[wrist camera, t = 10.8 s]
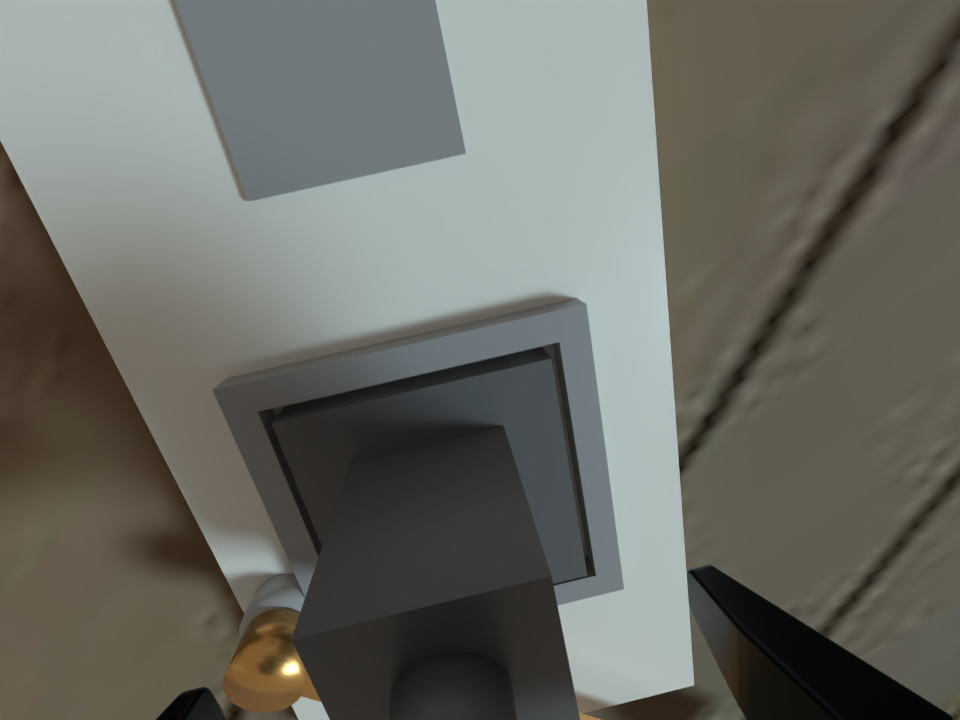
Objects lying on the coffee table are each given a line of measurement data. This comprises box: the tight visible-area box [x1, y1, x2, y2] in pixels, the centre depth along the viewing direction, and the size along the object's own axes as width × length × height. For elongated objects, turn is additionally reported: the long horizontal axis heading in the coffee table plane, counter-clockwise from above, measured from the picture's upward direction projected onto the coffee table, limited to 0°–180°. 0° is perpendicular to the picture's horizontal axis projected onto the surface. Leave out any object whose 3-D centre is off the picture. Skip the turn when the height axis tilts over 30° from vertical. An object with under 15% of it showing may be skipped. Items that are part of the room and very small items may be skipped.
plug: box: [271, 347, 587, 720], centre depth 10 cm, size 7×7×8 cm
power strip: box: [0, 0, 694, 720], centre depth 12 cm, size 30×14×3 cm, turn 12°
